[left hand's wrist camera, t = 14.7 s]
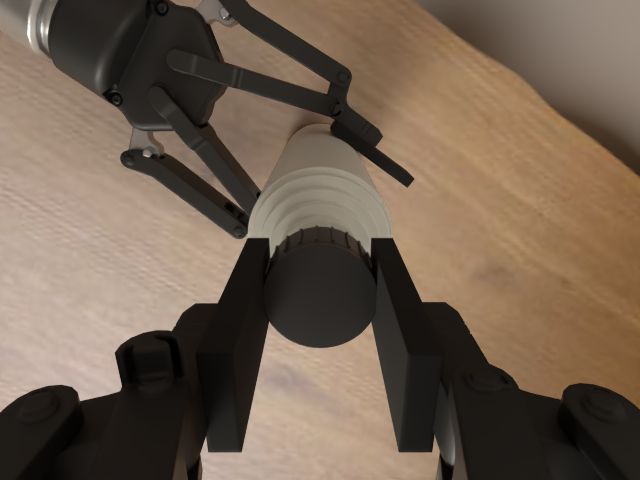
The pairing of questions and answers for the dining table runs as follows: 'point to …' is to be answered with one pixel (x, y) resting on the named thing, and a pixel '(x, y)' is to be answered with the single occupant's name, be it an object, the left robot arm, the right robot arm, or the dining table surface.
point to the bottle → (319, 192)
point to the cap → (320, 288)
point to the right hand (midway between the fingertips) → (375, 217)
